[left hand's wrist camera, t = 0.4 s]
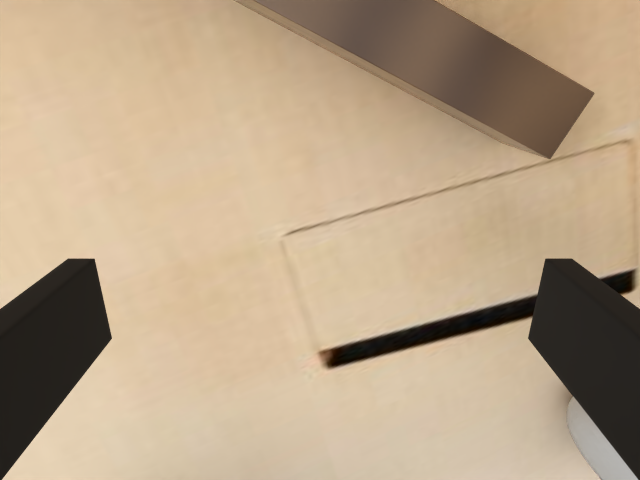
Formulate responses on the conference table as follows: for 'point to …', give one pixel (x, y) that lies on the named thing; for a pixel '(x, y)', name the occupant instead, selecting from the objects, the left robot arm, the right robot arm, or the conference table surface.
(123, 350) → the conference table surface
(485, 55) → the beam
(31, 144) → the conference table surface
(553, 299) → the left robot arm
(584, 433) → the projector
